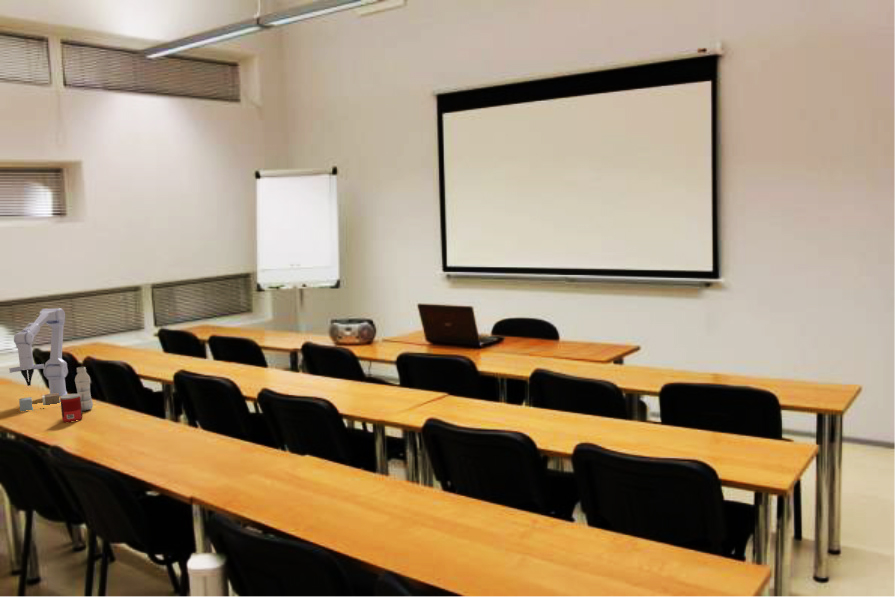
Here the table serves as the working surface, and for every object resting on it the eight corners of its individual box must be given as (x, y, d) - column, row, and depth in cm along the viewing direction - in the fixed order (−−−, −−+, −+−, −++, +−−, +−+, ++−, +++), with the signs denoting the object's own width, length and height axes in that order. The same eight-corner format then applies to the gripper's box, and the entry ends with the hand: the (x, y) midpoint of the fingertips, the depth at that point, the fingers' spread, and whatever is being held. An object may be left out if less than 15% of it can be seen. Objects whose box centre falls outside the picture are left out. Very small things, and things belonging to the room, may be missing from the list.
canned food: (86, 418, 335) (83, 394, 334) (69, 423, 328) (66, 398, 327) (76, 417, 339) (73, 392, 338) (59, 421, 332) (56, 397, 331)
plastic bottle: (74, 412, 348) (69, 369, 346) (85, 408, 355) (80, 366, 352) (85, 412, 346) (81, 369, 344) (96, 408, 353) (92, 366, 350)
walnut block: (42, 395, 367) (58, 392, 371) (43, 403, 368) (59, 400, 371) (42, 397, 362) (58, 395, 365) (43, 405, 363) (59, 403, 366)
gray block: (20, 409, 358) (19, 398, 357) (32, 407, 360) (31, 397, 359) (20, 411, 353) (19, 400, 353) (32, 409, 356) (31, 399, 355)
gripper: (8, 360, 353) (11, 389, 355) (43, 356, 360) (46, 384, 362) (8, 358, 359) (11, 386, 361) (43, 354, 366) (46, 381, 368)
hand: (29, 385), depth 362 cm, fingers closed
